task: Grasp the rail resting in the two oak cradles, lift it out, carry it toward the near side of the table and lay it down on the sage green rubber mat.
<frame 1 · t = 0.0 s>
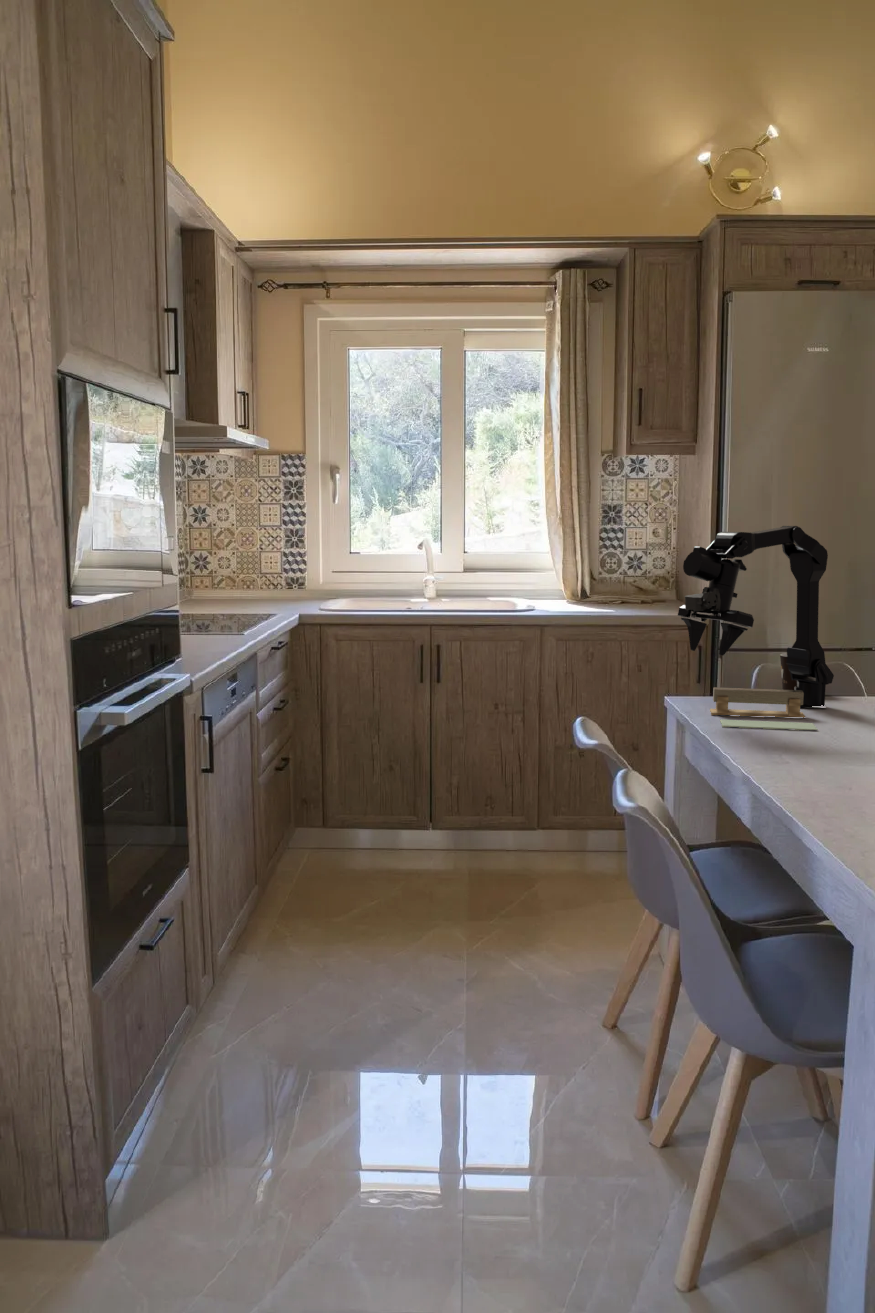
hand: (706, 652, 229), 15 cm above the table, tool pointing down, fingers open, 9 cm apart
coffee mug: (797, 692, 268), on the table
rack: (756, 715, 236), on the table
rail: (757, 702, 236), point 3 cm above the table, touching rack
mat: (767, 726, 223), on the table
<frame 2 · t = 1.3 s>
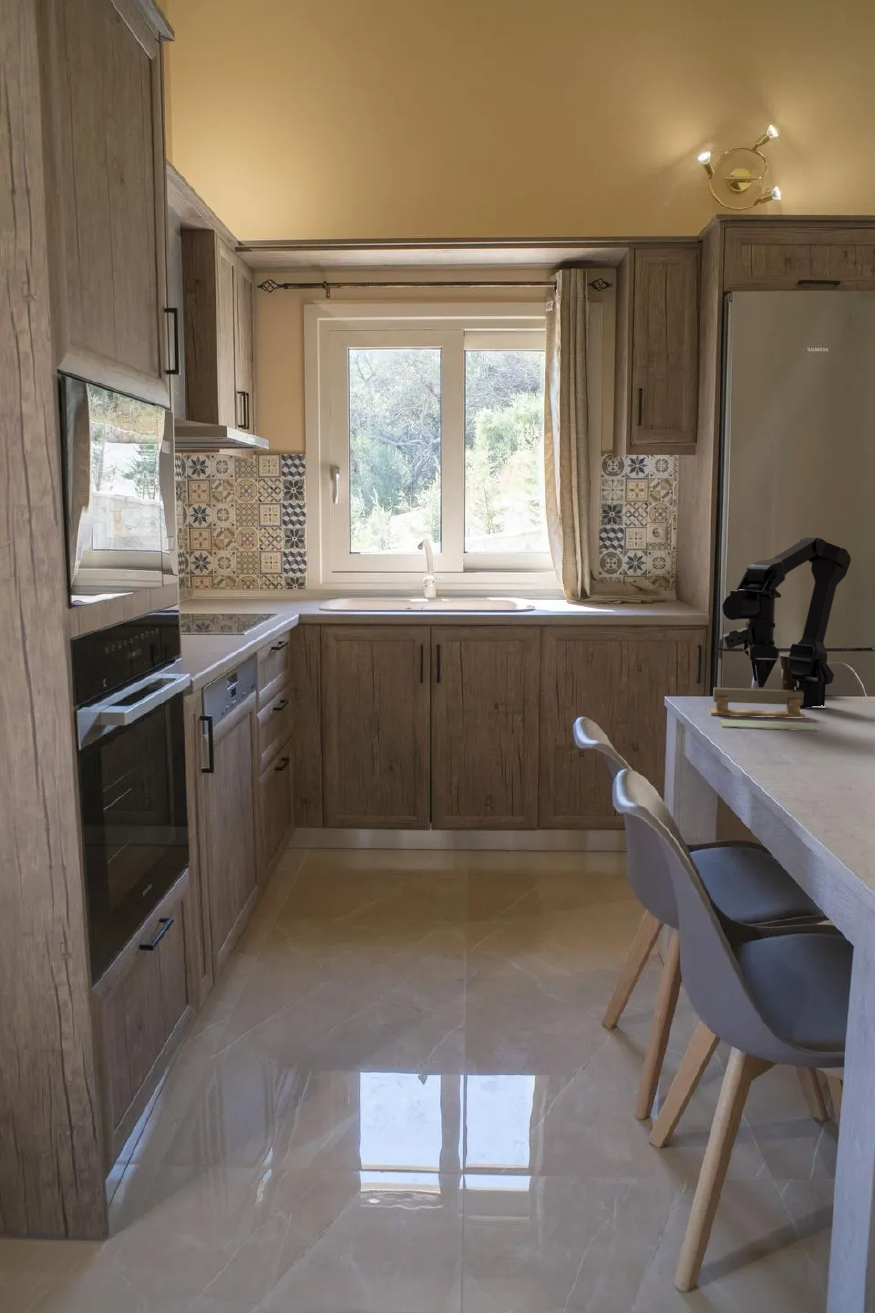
hand: (758, 684, 235), 7 cm above the table, tool pointing down, fingers open, 9 cm apart
nothing on the table moved.
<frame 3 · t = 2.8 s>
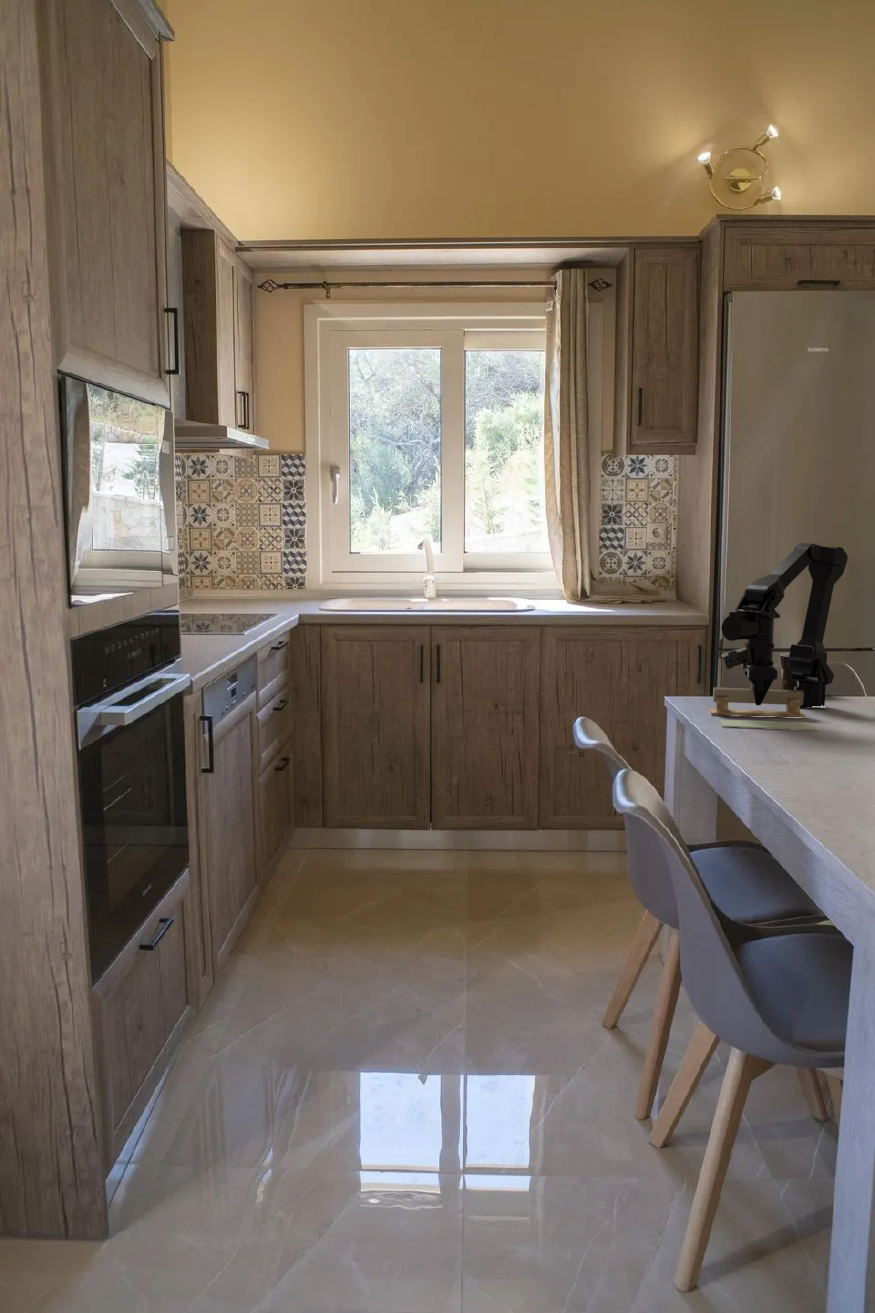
hand: (757, 704, 236), 3 cm above the table, tool pointing down, fingers closed on rail, 3 cm apart
rail: (757, 702, 236), point 3 cm above the table, touching gripper, rack
everything else where it was.
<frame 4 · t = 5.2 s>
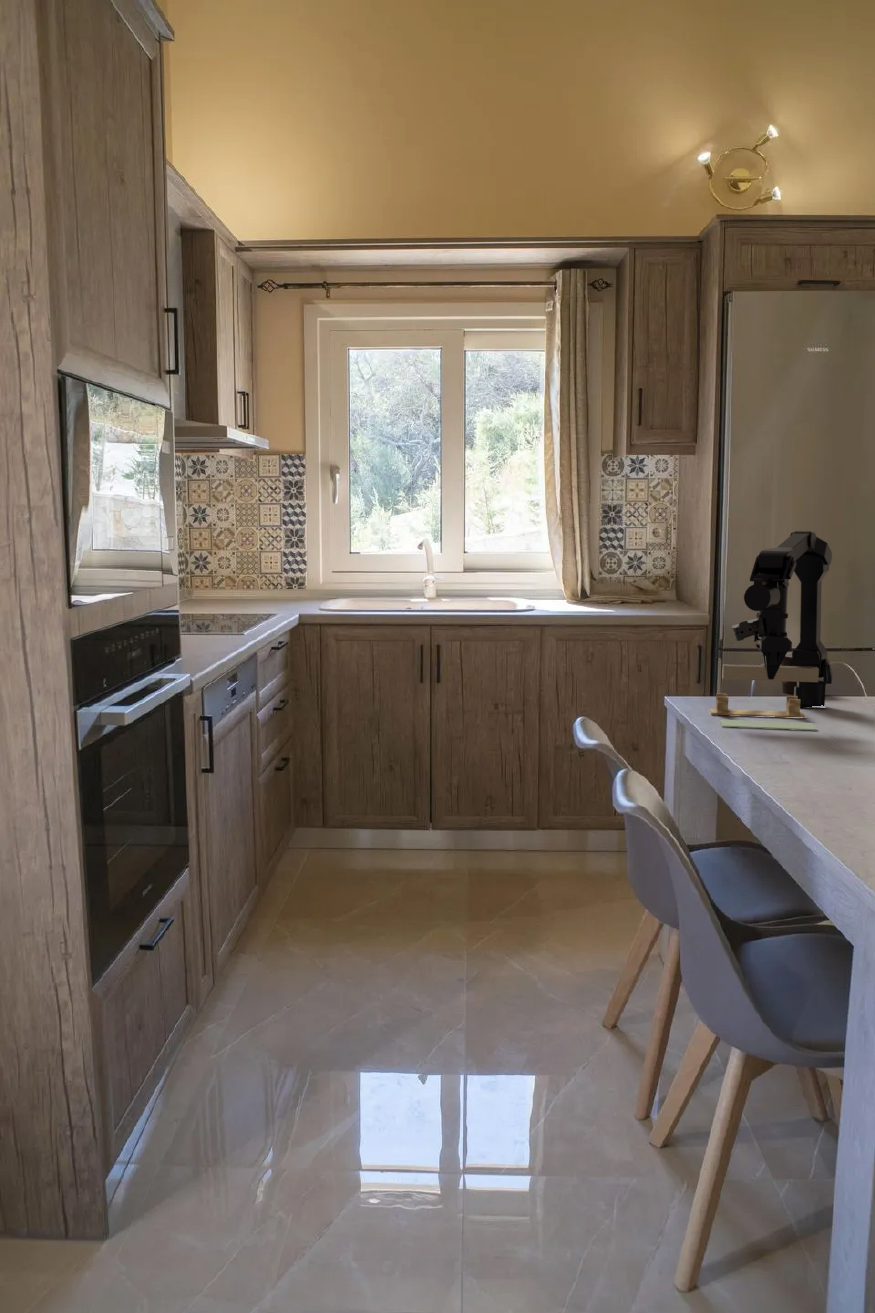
hand: (769, 678, 222), 11 cm above the table, tool pointing down, fingers closed on rail, 3 cm apart
rail: (769, 679, 222), point 10 cm above the table, touching gripper
everything else where it was.
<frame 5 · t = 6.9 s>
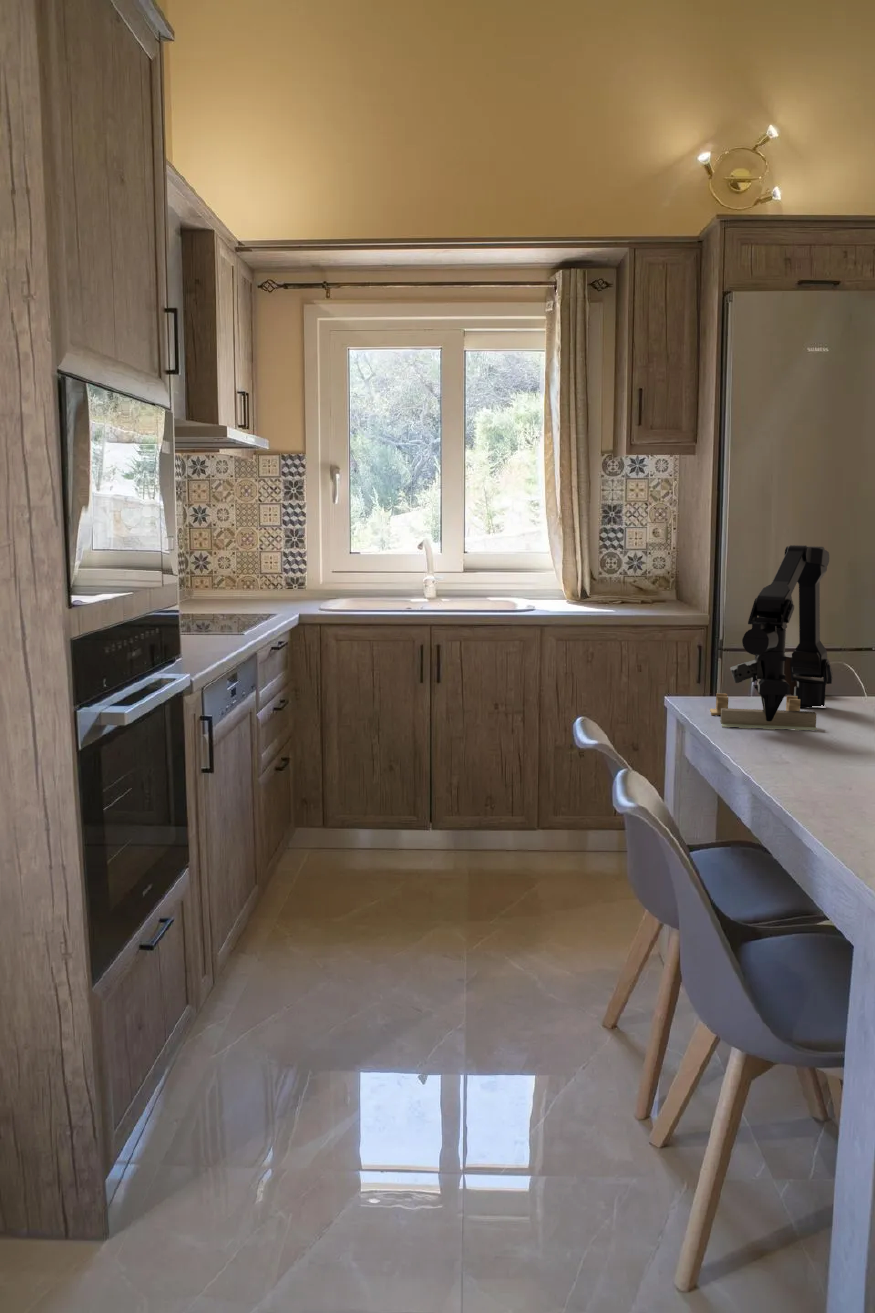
hand: (768, 719, 223), 1 cm above the table, tool pointing down, fingers closed on rail, 3 cm apart
rail: (767, 724, 223), resting on mat, touching gripper
everything else where it was.
when the fingers open (1 cm above the table, at t = 7.5 s): rail stays where it is, resting on mat.
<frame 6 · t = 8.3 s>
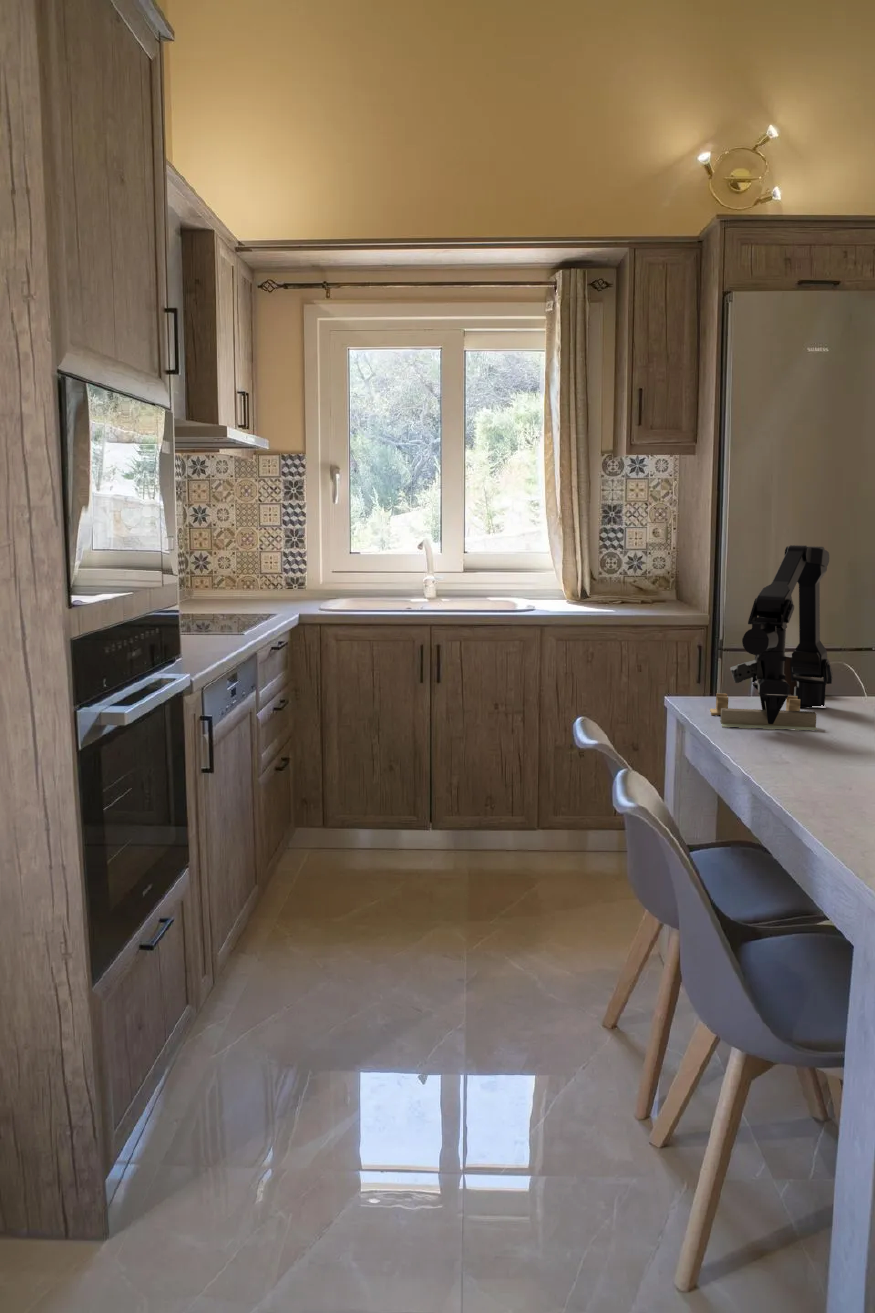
hand: (768, 719, 223), 1 cm above the table, tool pointing down, fingers open, 9 cm apart
rail: (767, 724, 223), resting on mat
everything else where it was.
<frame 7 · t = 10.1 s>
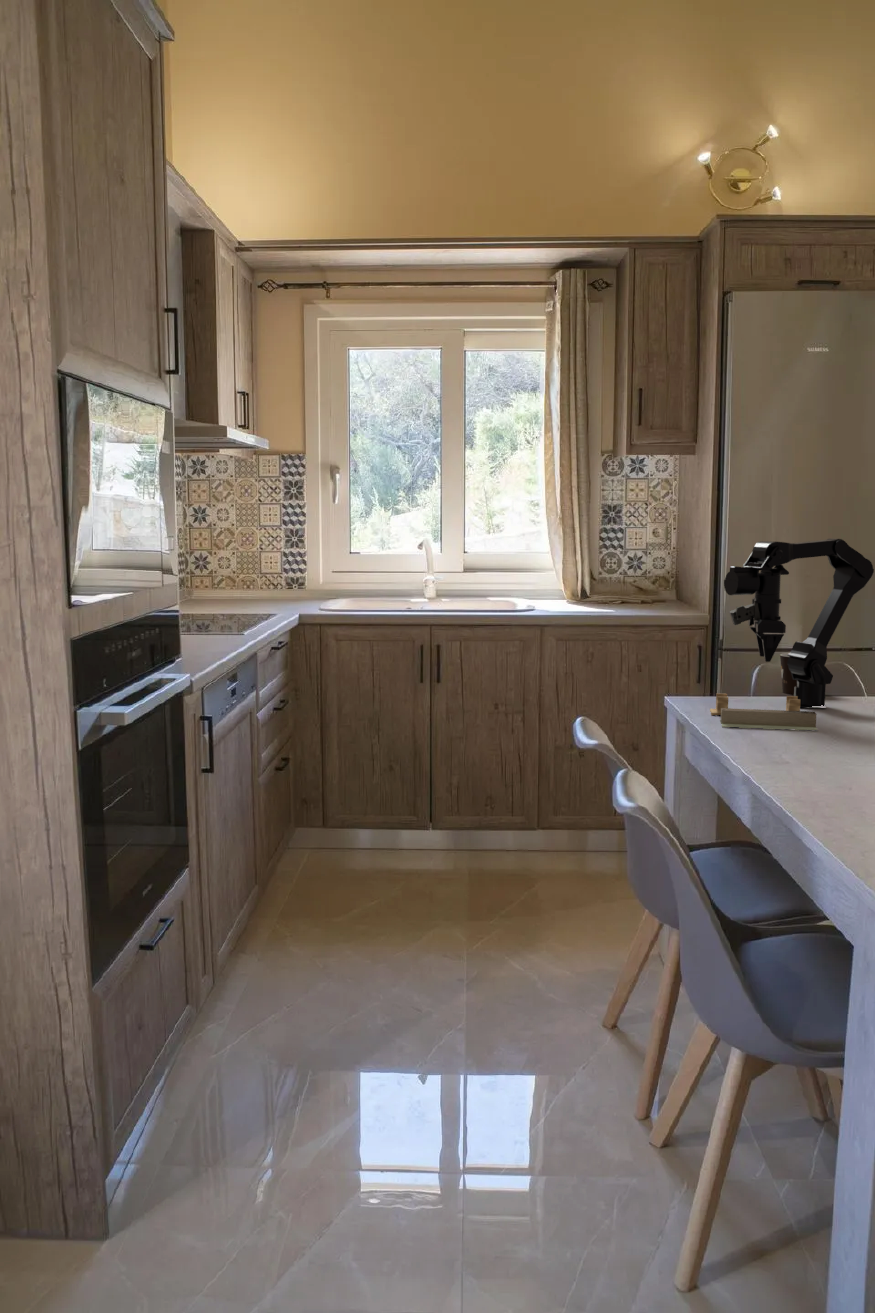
hand: (764, 659, 241), 12 cm above the table, tool pointing down, fingers open, 9 cm apart
nothing on the table moved.
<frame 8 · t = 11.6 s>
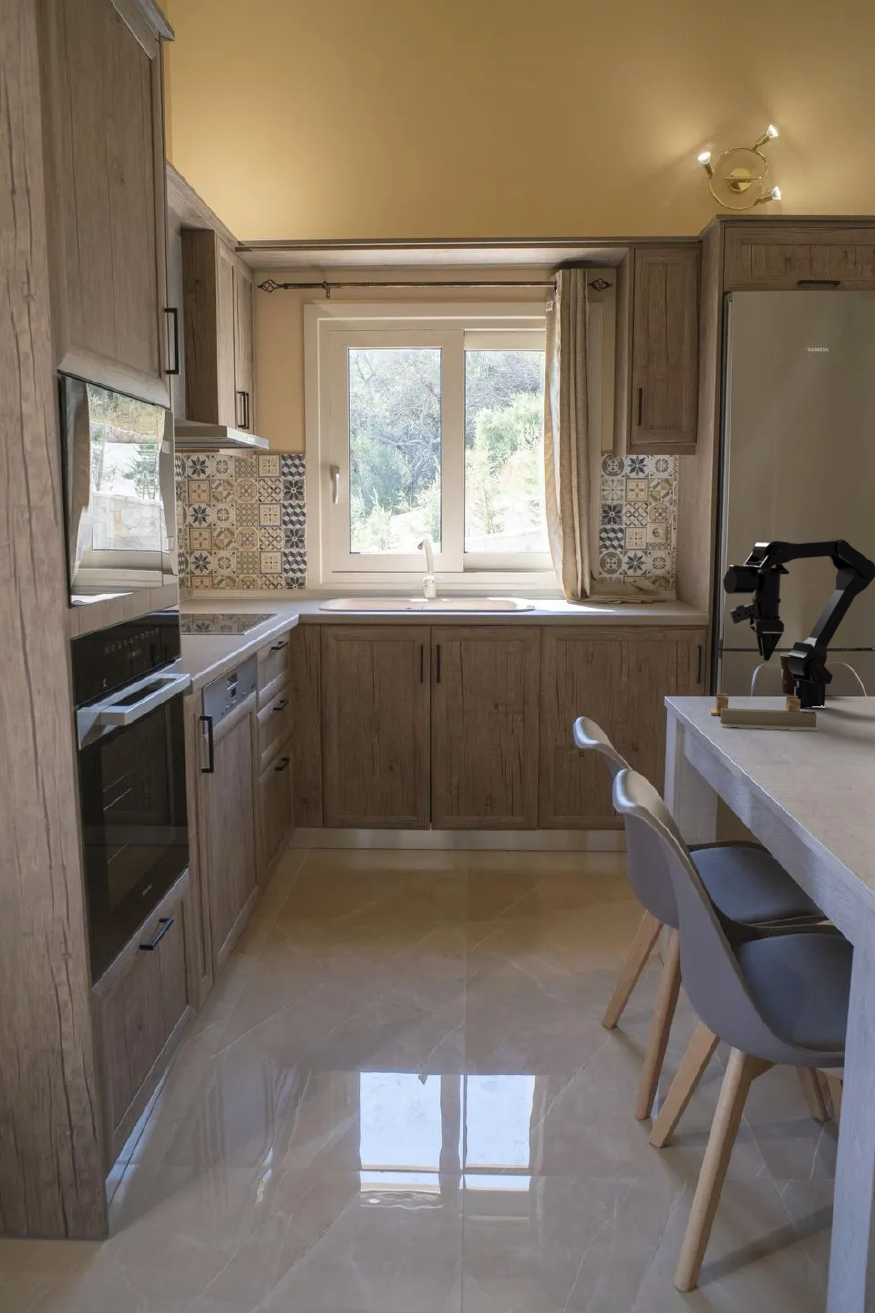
hand: (764, 658, 242), 13 cm above the table, tool pointing down, fingers open, 9 cm apart
nothing on the table moved.
at the end: rail inside the target area on the mat (0.1 cm from its centre), point 0.4 cm above the mat's base; rail touching mat; the gripper is holding nothing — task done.
